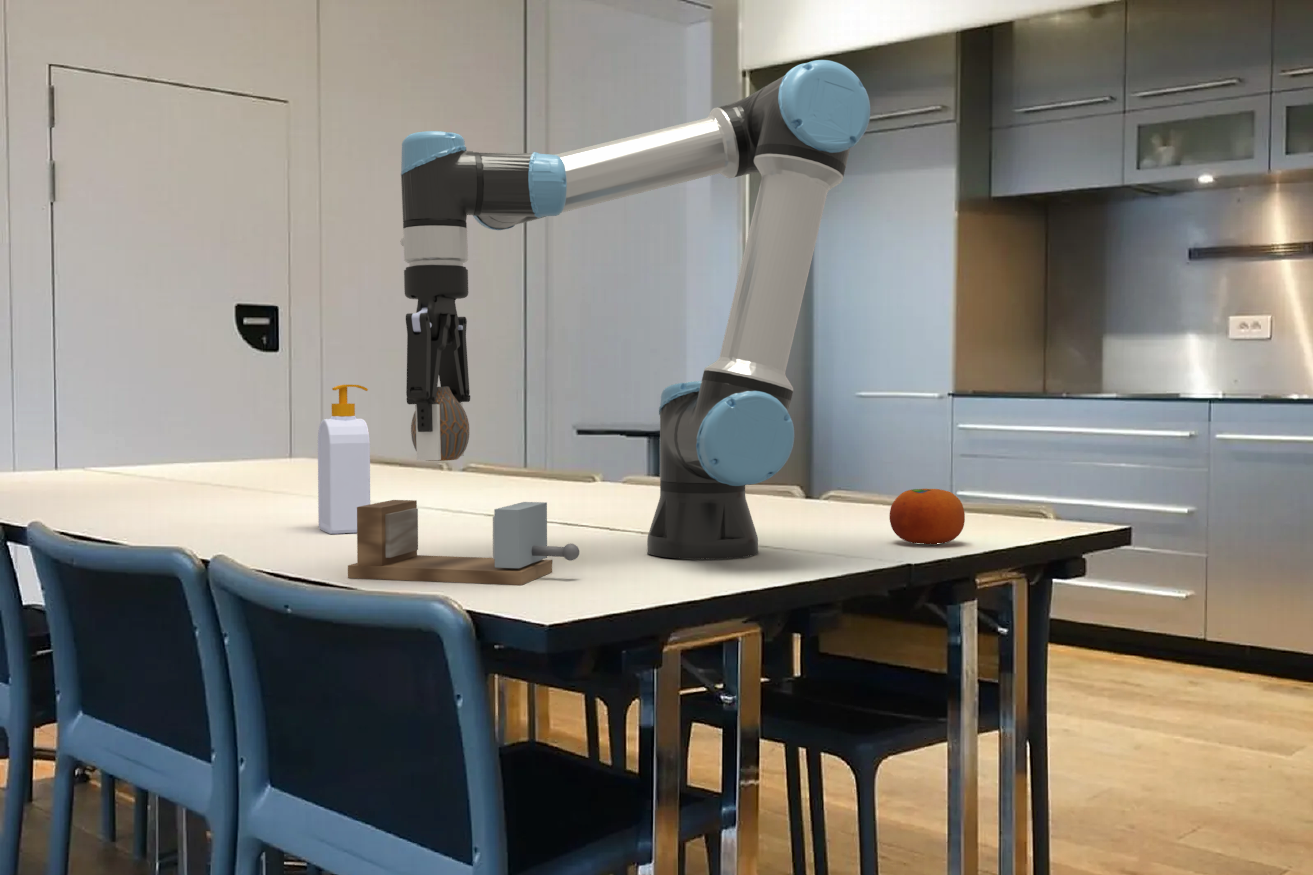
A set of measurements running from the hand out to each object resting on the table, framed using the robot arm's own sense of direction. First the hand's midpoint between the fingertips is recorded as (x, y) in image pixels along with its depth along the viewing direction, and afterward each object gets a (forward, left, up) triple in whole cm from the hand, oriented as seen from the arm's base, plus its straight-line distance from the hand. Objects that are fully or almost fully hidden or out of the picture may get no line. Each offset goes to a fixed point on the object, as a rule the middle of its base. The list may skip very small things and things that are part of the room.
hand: (440, 457), depth 164 cm
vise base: (-1, -2, -14) cm, 15 cm away
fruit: (-55, -49, -15) cm, 75 cm away
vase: (0, 0, 0) cm, 0 cm away
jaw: (-12, -2, -12) cm, 17 cm away
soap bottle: (+34, -43, -15) cm, 57 cm away
